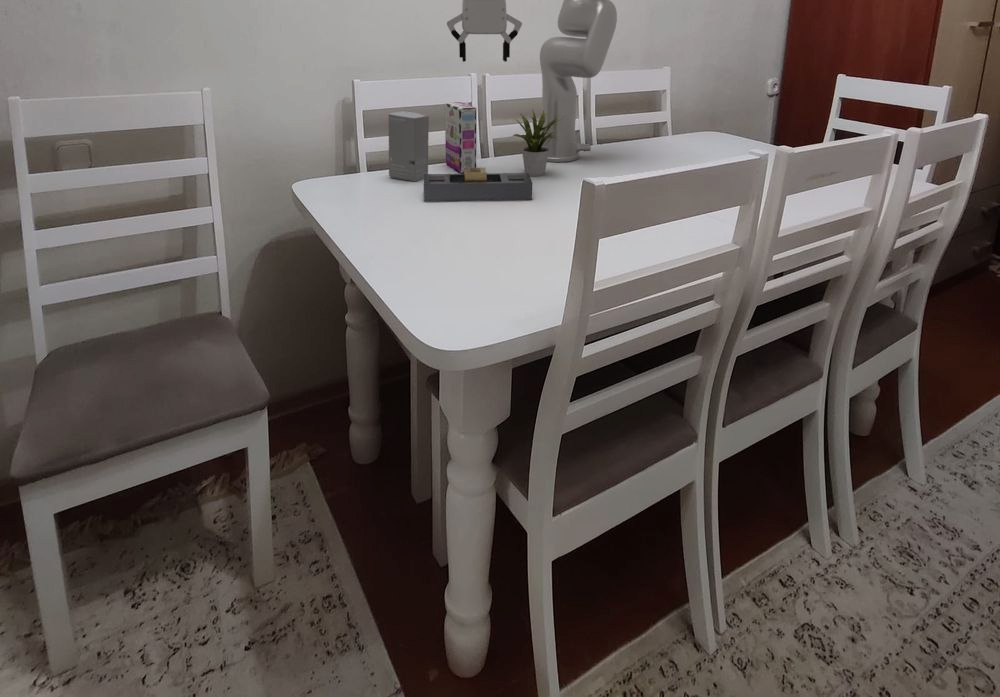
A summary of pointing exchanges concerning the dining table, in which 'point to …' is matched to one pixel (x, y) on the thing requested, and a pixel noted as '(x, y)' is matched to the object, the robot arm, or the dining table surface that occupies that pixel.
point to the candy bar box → (460, 136)
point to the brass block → (475, 175)
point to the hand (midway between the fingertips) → (484, 61)
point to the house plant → (536, 144)
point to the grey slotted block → (477, 187)
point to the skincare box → (408, 145)
